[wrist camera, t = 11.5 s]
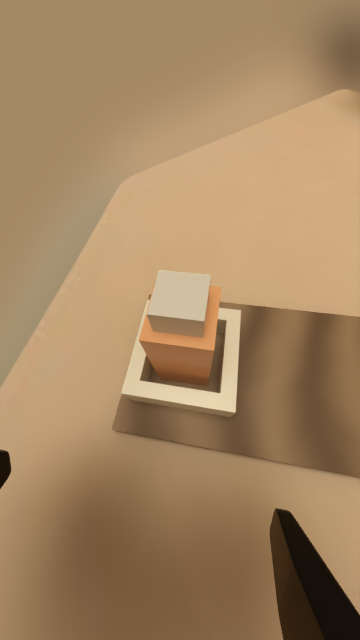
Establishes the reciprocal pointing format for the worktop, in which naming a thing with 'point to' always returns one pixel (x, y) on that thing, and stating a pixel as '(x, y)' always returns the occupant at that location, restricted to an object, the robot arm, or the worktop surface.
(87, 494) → the worktop surface
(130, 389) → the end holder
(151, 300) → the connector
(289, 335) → the board
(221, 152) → the worktop surface
